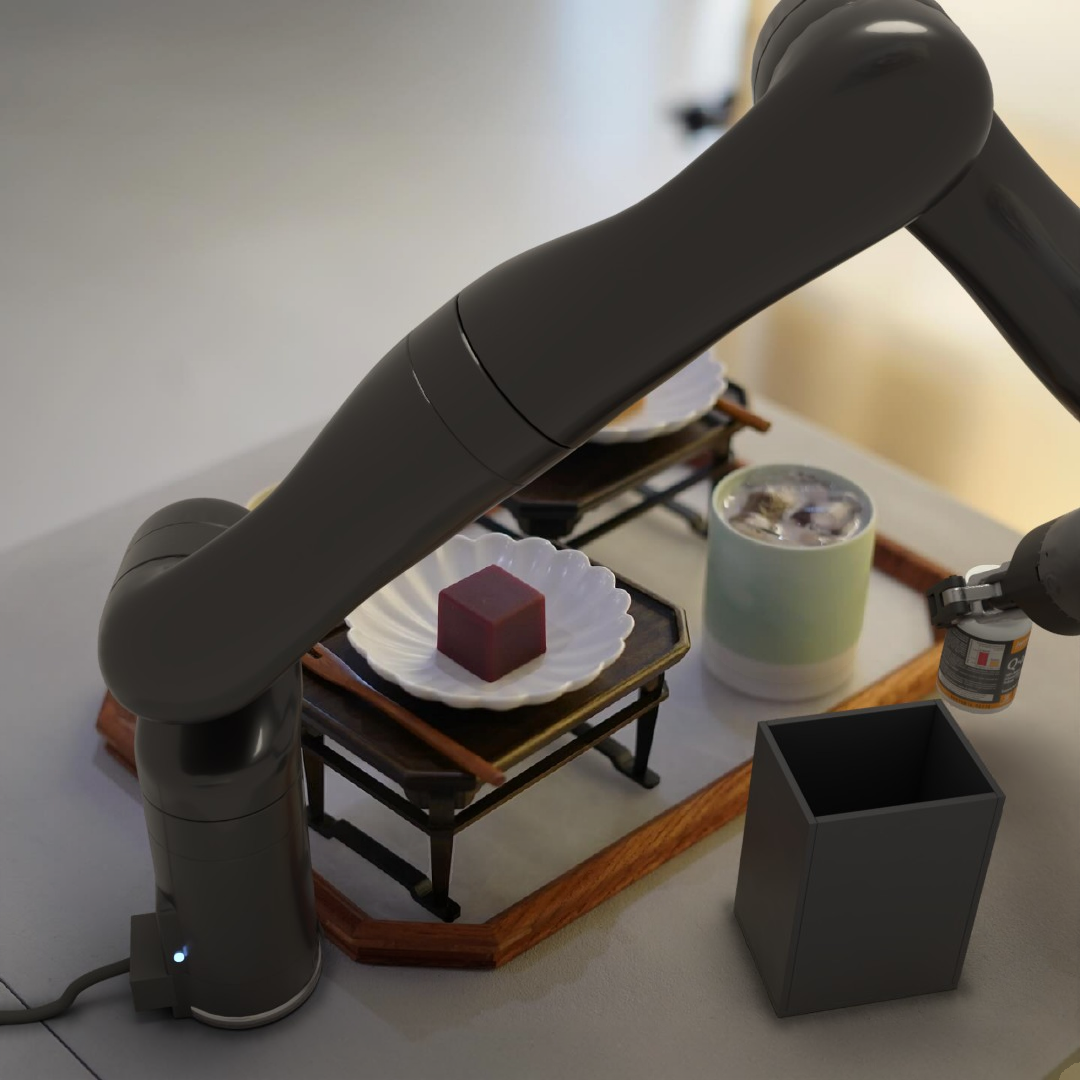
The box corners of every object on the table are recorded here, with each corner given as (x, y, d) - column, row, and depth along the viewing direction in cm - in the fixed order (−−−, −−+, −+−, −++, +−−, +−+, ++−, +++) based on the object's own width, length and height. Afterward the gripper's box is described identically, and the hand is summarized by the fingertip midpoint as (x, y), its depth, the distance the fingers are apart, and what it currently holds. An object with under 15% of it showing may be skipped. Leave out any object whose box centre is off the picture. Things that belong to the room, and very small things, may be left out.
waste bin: (778, 1018, 94) (809, 824, 85) (733, 910, 101) (757, 721, 92) (957, 988, 96) (1006, 796, 87) (901, 885, 104) (940, 697, 95)
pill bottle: (1015, 723, 109) (1044, 611, 104) (934, 711, 110) (958, 599, 104) (1011, 675, 114) (1038, 565, 108) (933, 664, 115) (956, 555, 109)
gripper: (1191, 496, 96) (1059, 551, 112) (980, 517, 93) (876, 569, 109) (1216, 614, 94) (1078, 651, 111) (1002, 637, 92) (894, 672, 108)
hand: (978, 610), depth 110 cm, fingers closed on pill bottle, 5 cm apart
